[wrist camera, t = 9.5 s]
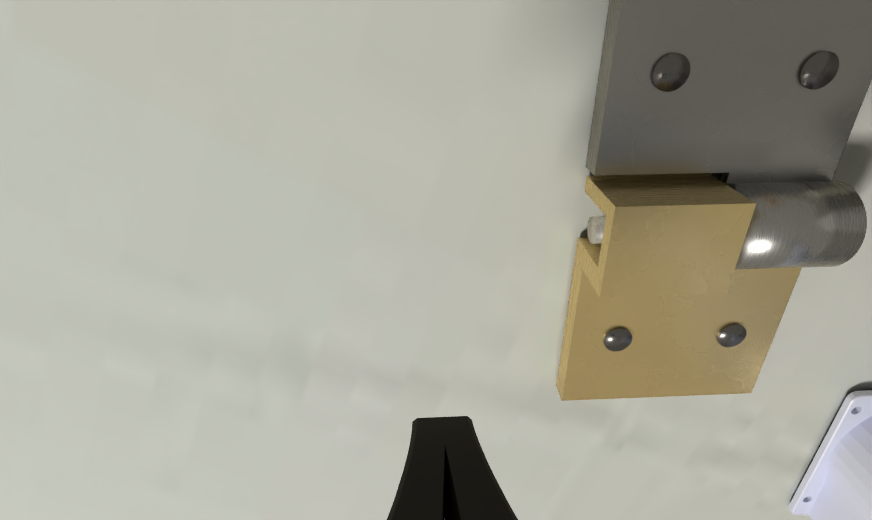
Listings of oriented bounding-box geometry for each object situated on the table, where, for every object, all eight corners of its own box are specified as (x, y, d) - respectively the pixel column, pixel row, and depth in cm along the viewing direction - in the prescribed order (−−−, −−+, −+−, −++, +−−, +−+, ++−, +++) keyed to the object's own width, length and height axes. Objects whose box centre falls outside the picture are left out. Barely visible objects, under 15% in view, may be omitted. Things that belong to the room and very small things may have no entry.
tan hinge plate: (738, 378, 24) (778, 425, 22) (556, 385, 24) (574, 434, 21) (817, 170, 19) (882, 200, 16) (586, 176, 19) (615, 206, 16)
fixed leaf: (785, 242, 21) (844, 282, 18) (573, 248, 20) (600, 290, 18) (896, -53, 16) (1001, -61, 13) (616, -51, 15) (663, -60, 13)
